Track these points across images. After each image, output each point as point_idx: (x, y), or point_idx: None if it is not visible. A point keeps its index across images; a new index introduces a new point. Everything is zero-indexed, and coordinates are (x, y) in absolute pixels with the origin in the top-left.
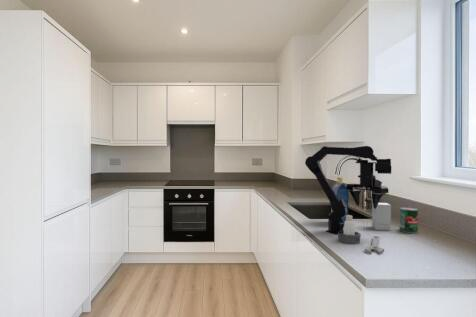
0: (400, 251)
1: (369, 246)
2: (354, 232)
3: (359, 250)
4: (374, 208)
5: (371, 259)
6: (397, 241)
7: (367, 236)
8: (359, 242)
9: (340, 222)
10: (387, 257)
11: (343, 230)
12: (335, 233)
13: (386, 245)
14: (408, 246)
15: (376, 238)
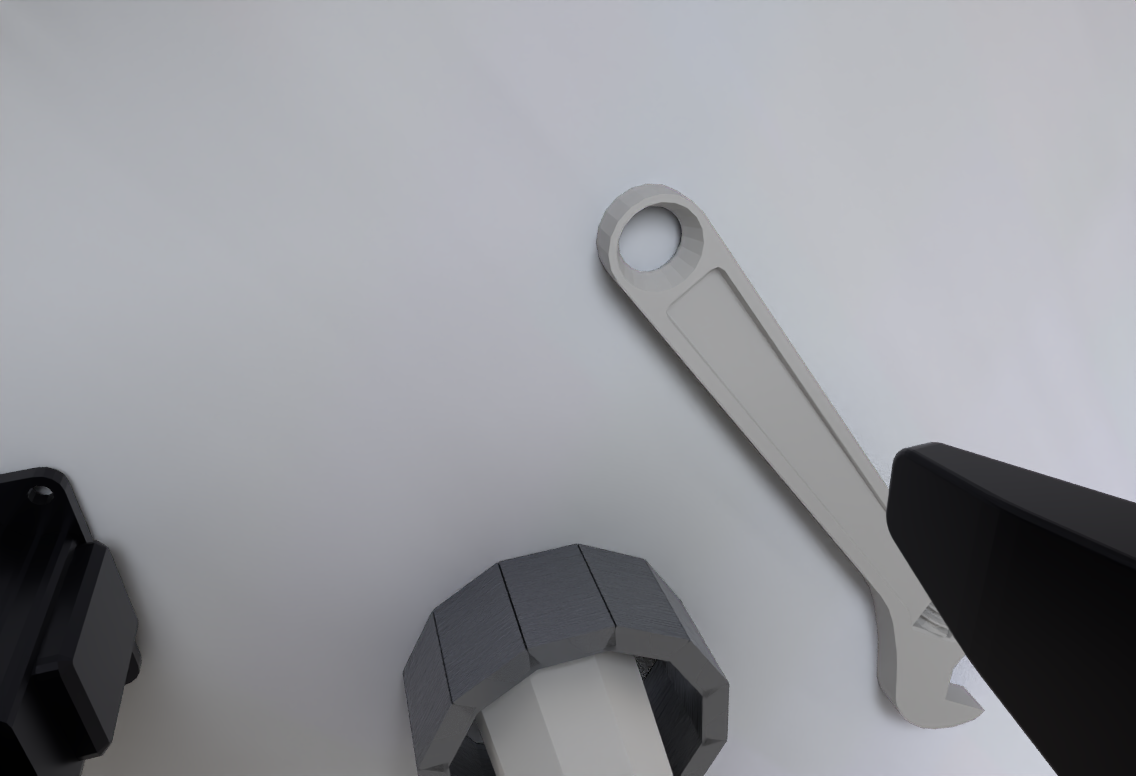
0: (1111, 388)
1: (899, 651)
2: (656, 727)
3: (843, 724)
4: (908, 525)
5: (1023, 749)
6: (917, 12)
7: (453, 252)
8: (684, 608)
9: (56, 742)
10: None
11: (420, 763)
12: (132, 675)
13: (917, 359)
14: (1118, 110)
15: (697, 291)
